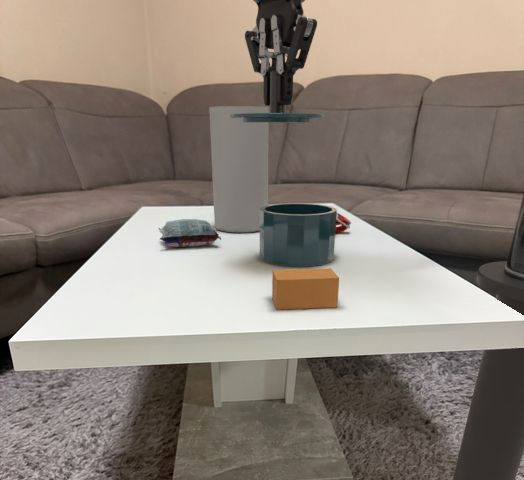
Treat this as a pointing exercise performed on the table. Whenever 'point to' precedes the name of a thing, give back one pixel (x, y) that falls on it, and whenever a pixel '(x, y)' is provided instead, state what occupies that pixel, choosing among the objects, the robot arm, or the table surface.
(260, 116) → the lid
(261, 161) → the cylinder vase
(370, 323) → the table surface
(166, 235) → the packaged food
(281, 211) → the pot
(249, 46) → the robot arm
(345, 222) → the tracker holder
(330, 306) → the orange rectangular block
